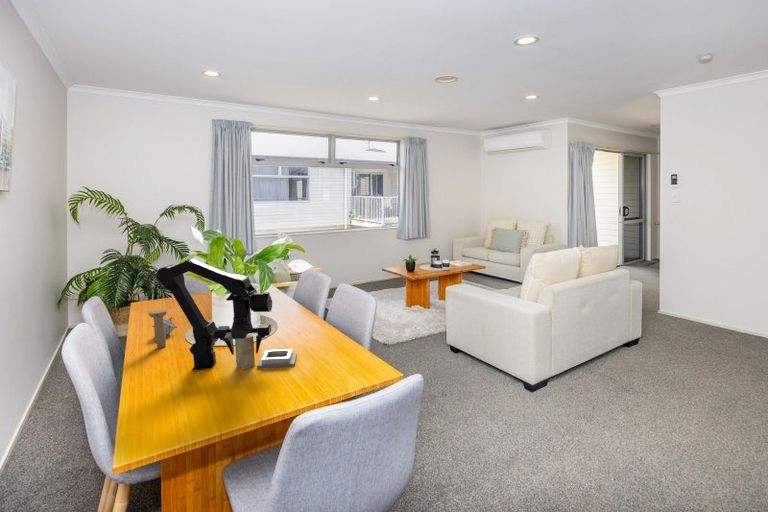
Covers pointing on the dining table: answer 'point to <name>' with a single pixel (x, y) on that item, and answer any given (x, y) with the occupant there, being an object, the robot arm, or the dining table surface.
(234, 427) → the dining table surface
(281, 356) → the socket
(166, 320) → the grey spiky ball
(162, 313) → the handle
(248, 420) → the dining table surface
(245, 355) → the box
